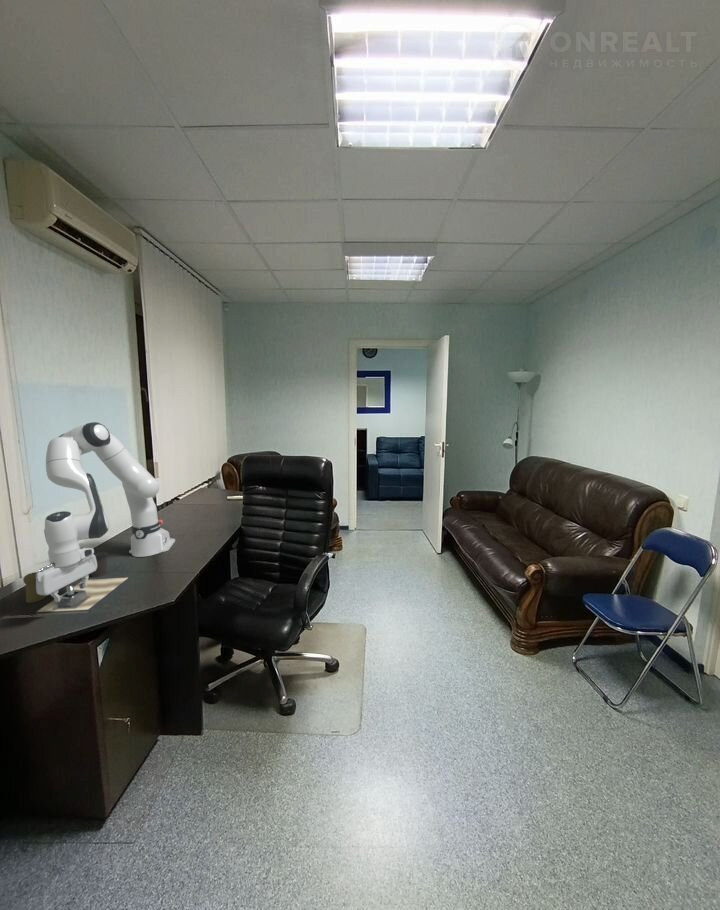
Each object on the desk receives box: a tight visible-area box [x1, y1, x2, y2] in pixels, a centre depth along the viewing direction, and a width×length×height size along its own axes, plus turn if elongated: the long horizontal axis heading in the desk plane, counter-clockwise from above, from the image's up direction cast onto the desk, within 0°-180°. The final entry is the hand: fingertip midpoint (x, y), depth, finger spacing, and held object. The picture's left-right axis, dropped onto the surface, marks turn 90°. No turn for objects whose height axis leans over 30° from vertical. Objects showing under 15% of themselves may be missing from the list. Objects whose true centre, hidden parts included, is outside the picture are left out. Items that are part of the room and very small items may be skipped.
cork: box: [23, 571, 47, 604], centre depth 140 cm, size 6×6×11 cm
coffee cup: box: [90, 551, 109, 578], centre depth 159 cm, size 8×8×10 cm
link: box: [57, 590, 87, 607], centre depth 135 cm, size 6×6×3 cm
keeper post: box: [53, 584, 91, 610], centre depth 135 cm, size 8×8×6 cm
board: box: [35, 577, 128, 616], centre depth 143 cm, size 24×18×1 cm
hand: (71, 594), depth 135 cm, fingers open, 8 cm apart
